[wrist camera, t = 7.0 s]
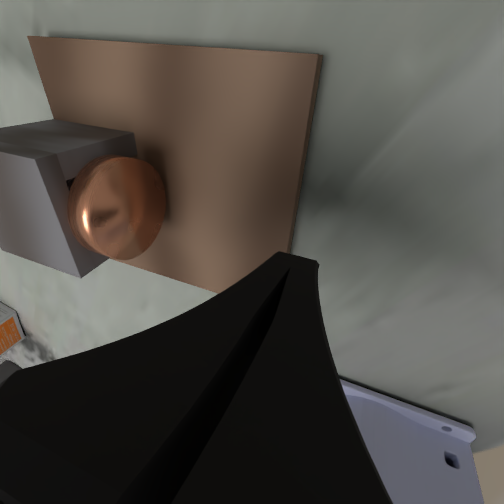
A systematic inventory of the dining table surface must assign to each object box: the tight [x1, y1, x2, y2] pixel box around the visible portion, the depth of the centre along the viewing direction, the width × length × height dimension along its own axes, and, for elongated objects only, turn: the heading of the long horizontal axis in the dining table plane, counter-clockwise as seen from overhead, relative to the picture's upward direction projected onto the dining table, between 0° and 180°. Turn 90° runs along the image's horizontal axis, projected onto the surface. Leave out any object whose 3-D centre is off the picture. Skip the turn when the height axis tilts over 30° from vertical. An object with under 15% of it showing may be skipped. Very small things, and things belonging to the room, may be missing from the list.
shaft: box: [66, 154, 166, 260], centre depth 13 cm, size 9×4×4 cm, turn 87°
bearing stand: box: [0, 36, 323, 293], centre depth 13 cm, size 13×12×6 cm
